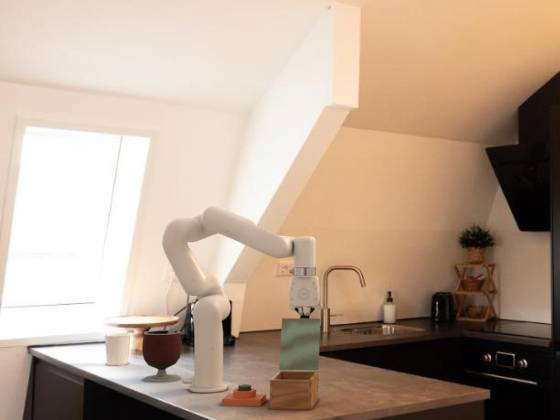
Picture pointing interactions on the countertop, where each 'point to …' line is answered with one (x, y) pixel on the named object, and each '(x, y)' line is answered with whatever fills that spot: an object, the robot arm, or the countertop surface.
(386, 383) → the countertop surface
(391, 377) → the countertop surface
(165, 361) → the mate gourd
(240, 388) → the button
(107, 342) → the candle holder
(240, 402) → the button block
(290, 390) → the wooden box
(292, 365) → the green box lid
